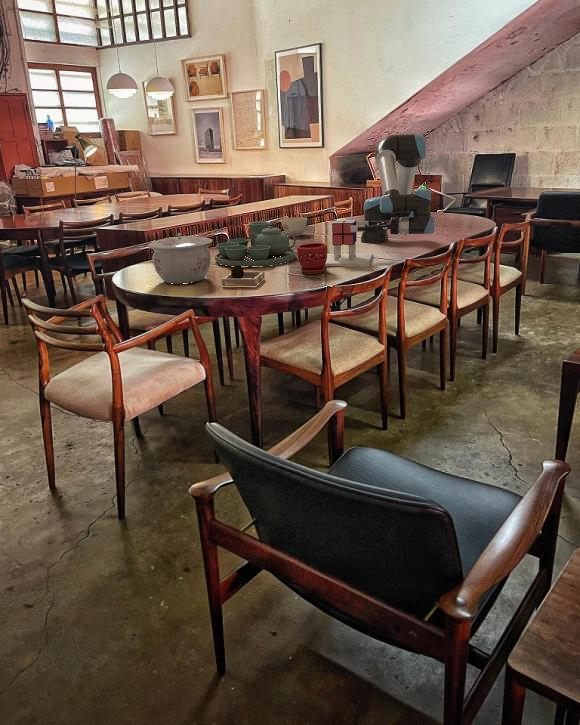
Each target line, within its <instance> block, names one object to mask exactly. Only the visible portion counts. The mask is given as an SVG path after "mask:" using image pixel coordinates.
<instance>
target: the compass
mask: <svg viewBox="0 0 580 725" xmlns="http://www.w3.org/2000/svg"><path fill="white" fill-rule="evenodd" d="M244 272H245V271H244V268H242V267H241V266H240V265H235V266H234V267H233V268H231V271H230V273H231V275H232V277H233V278H234V279H241V278H242V277H243V275H244Z"/></svg>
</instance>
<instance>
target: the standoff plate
mask: <svg viewBox="0 0 580 725" xmlns="http://www.w3.org/2000/svg"><path fill="white" fill-rule="evenodd" d="M356 242H357V241H356ZM356 242H355V244H354V245H348V252H347V253H342V245H333V252H332V253H331V252H330V253H328V252H327V260H326V263H325V266H345V267H347V268H353V267H354V268H356V267H357V268H367V267H369V265H370V263H371V261H372V260H373V256H374V253H372V252H369V253H368V252H364V253H363V252H362V253H361V252H360V253H359V252H356V250H357V249H356V246H357V245H356ZM345 267H344V268H345Z"/></svg>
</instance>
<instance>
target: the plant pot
mask: <svg viewBox="0 0 580 725" xmlns="http://www.w3.org/2000/svg"><path fill="white" fill-rule="evenodd" d="M296 252H297V259H298V262H299V265H300V266H301V267H300V271H301V272H302V273H303V274H306V273H307V275H317V274H322V273H324V272H326V271H327V269H328V267H326V266H325V263H326V260H327V253H328V245H327V243H324V242H311V243H304V244H299V245H297V247H296Z"/></svg>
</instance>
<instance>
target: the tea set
mask: <svg viewBox="0 0 580 725" xmlns="http://www.w3.org/2000/svg"><path fill="white" fill-rule="evenodd" d="M270 224H271V221H264V220H263V221H262V220H261V221H260V220H259V221H253V222H248V226H249V235H250V236H249V237H250V241H249V239H247V238H233V239H229V240H227V241H226V242H222V243H221V242H220V243H218V244H216V245H215V246H216V248H217V251H218V253H217V254H215V255H214V260H215V262H216V261H217V262H218V263H217V262H216V263H217V264H218V265H219V264H222V265H227V266H235V265H240V266H248V267H252V266H270V265H275V264H280V263H285V262H287V263H289V262H288V261H290V260H292V259H294V260H295V258H296V251H295V249H294V247H295V245H296V243H297V239H296V238H297V237H295V236H294V235H293V234H291V233H283V232H282V230H281V229H280V228H279V227H273V226H271V225H270ZM289 235H291V236H292V237H291V238H292V239H293V244H292V245H290V243H291V242H290V238H289ZM249 242H250V246H248V245H249V244H248V243H249ZM245 256H246V257H245ZM273 256H274V257H273ZM280 256H281V257H280ZM247 257H248V258H247ZM275 257H276V258H275ZM249 258H250V259H249ZM244 259H245V260H244ZM251 259H252V260H251ZM246 260H247V261H246ZM253 260H254V261H253ZM292 261H293V260H292ZM290 262H291V261H290ZM285 264H286V263H285ZM280 265H281V264H280ZM275 266H276V265H275ZM270 267H271V266H270Z"/></svg>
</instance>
